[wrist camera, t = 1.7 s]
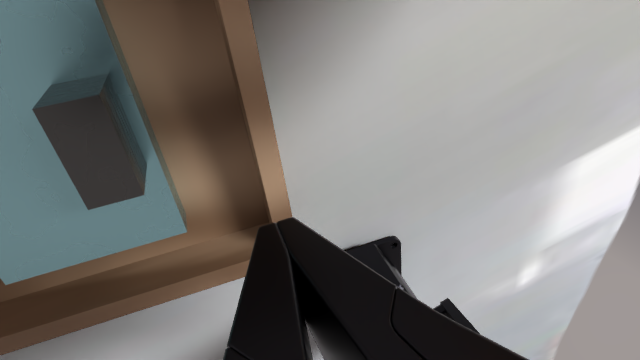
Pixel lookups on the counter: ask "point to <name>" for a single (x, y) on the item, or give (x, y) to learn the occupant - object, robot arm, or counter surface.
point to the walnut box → (175, 171)
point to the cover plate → (37, 165)
